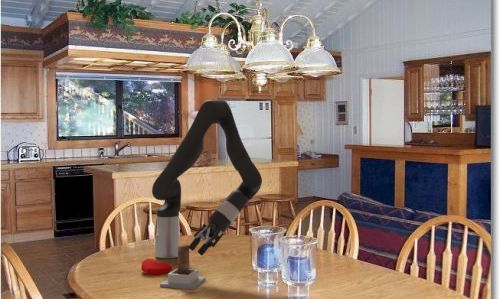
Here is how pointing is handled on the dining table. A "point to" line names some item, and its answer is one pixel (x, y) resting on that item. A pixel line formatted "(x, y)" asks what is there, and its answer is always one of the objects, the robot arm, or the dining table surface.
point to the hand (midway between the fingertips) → (194, 251)
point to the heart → (155, 267)
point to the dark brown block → (183, 259)
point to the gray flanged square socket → (183, 280)
